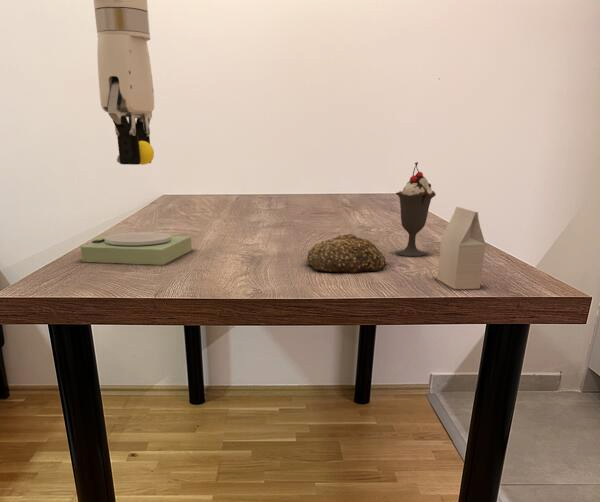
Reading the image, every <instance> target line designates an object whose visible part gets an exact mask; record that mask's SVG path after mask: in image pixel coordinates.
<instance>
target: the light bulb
mask: <svg viewBox="0 0 600 502" xmlns="http://www.w3.org/2000/svg"><path fill="white" fill-rule="evenodd" d="M139 149H140V159H141V163H140V164H139V165H141V166H143V165H148V164H151V163H152V161H153V160H154V156H155V151H154V148H153V146H152V145H151V143H150V144H149V143H148V142H146V141H139ZM150 162H151V163H150ZM116 163H118V164H120V165H122V164H121V163H120V157H119V154H118V155H117V158H116Z"/></svg>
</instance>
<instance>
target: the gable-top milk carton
mask: <svg viewBox="0 0 600 502" xmlns="http://www.w3.org/2000/svg"><path fill="white" fill-rule="evenodd" d="M480 224H481V223H480V220H479V211H475V210H471V209H468V208H464V207H460V206H456V207H455V209H454V212H453V214H452V216H451V218H450V221H448V224H447V226H446V228H445V230H444V231H443V233H442V235H441V237H440V245H439V246H440V247H439V256H438V264H437V265H438V266H437V275H436V276H437V277H436V280H438V281H439V282H441V283H443V284H445V285H446V286H448V287H450V288H451V289H453V290H473V289H474V290H475V289H478V290H479V289H481V284H482V283H481V282H482V276H483V266H484V259H485V252H486V251H485V250H486V242H485V238H484V235H483V232H482V228H481V225H480Z"/></svg>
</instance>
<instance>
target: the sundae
mask: <svg viewBox="0 0 600 502" xmlns="http://www.w3.org/2000/svg"><path fill="white" fill-rule="evenodd" d="M418 164H419V161H416V162H414V165H415V166H414V168H413V171H412V176H410V178H409V180H408V182H406V184H405V186H404V187H403V188H402V190H399V191H397V192H396V193H395V194H396V195H397V197H398V198H399V206H400V207H399V208H400V222H401V226H402V229H404V230H405V232H407V234H408V242H407V245H406V247H405V248H404V249H402V250H398V251H397V252H396V254H397V255H399V256H403V257H423V256H425V255H426V253H425V252H424V251H421V250H419V249H418V248H417V245H416V236H417V234H418V233H419V232H421V231H422V230H423V229H424V227H425V226H426V222H427V219H428V215H429V209H430V205H431V201H432V199H433V198H434V197H436V194H437V193H436V192H435V191H434V190H433V189H432V184H431V183H429V182H428V179H427V178H426V177H425V176H424V173H423V172H422V171H420V170H419V169H418ZM416 170H417V172H416V174H415V171H416Z"/></svg>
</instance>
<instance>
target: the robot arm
mask: <svg viewBox="0 0 600 502" xmlns="http://www.w3.org/2000/svg"><path fill="white" fill-rule="evenodd" d="M93 7H94V18H95V25H96V33H97V34H96V35H97V51H96V52H97V55H96V56H97V75H98V76H97V77H98V89H99V90H98V91H99V100H100V107H101V109H102V110H103V111H104V113H107V114H108V116H109V117H110V119H111V120H112V123H113V124H114V128H115V129H114V130H115V131H114V132H115V135H116V138H117V145H118V147H117V148H118V155H119V157H120V163H121V164H120V163H119V164H120V165H135V166H137V165H141V164H140V163H141V159H140V149H139V141H146V142H148V143H149V144H150V145H151V139H150V137H151V129H150V124H151V123H150V122H151V120H152V119H153V112H154V110H155V93H154V83H153V75H152V73H153V72H152V65H151V58H150V52H149V46H148V41H150V40H151V32H150V30H151V29H150V19H149V18H150V17H149V10H148V0H93ZM149 164H152V161H151V162H150V163H149Z"/></svg>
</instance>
